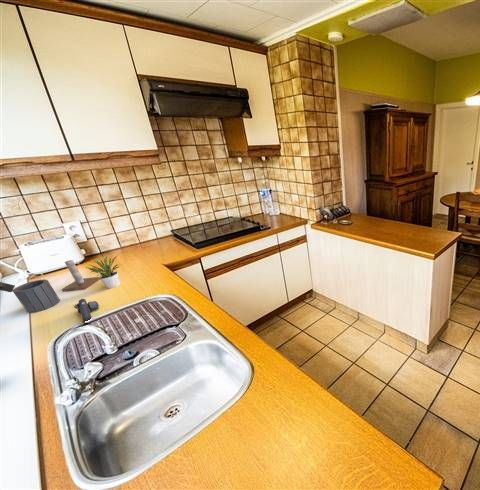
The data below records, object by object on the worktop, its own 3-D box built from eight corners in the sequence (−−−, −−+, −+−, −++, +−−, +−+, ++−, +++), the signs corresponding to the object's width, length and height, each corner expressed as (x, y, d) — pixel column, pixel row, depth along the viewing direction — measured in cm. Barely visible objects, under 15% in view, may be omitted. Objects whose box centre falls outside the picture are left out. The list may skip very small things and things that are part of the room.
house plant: (127, 274, 145) (114, 247, 138) (138, 280, 138) (125, 252, 132) (93, 287, 134) (77, 258, 127) (103, 294, 127) (87, 264, 121)
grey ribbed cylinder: (20, 314, 116) (5, 293, 111) (42, 300, 125) (29, 280, 120) (46, 311, 117) (32, 290, 113) (66, 298, 126) (53, 278, 122)
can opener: (78, 310, 116) (71, 300, 114) (99, 303, 121) (93, 293, 118) (76, 329, 104) (69, 318, 102) (100, 321, 109) (94, 309, 106)
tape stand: (62, 291, 132) (47, 267, 126) (79, 281, 141) (66, 257, 135) (85, 289, 133) (71, 264, 127) (100, 279, 142) (88, 255, 136)
